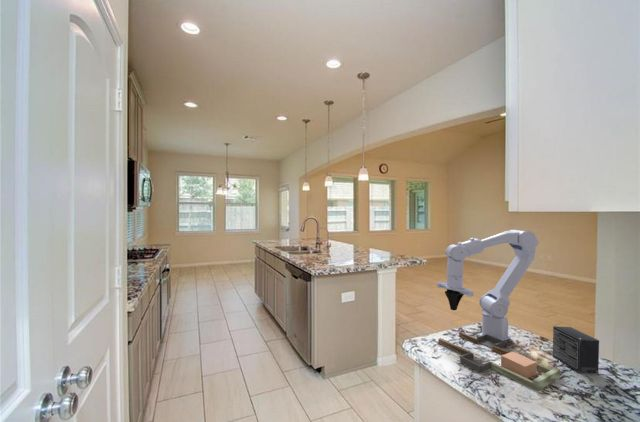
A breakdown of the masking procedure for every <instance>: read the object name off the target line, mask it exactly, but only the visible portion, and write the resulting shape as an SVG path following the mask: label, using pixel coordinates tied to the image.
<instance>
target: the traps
mask: <svg viewBox="0 0 640 422" xmlns="http://www.w3.org/2000/svg"><path fill="white" fill-rule="evenodd" d="M476 338H477V339H478V343H477V344H480V345H483V346H484V347H487V348H490V349H491V350H493V346H497V347H499V348H502V349H504V348H505V341H502V340H500V339H497V338H495V337H492V336H490V335H487V334H484V335H481V336H476ZM472 353H473V352H471V351H469V353H466V354H464V355H462V354H460V356H459V363H460V364H461V365H464V366H466V367H468V368H469V369H472V370H474V371H475V372H477V373H479V374H482V373H484V372H488V371H489V370H493V369H492V362H493V361H487V362H485V363H483V362H481V361H479V360H477V359H474V358H472Z"/></svg>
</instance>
